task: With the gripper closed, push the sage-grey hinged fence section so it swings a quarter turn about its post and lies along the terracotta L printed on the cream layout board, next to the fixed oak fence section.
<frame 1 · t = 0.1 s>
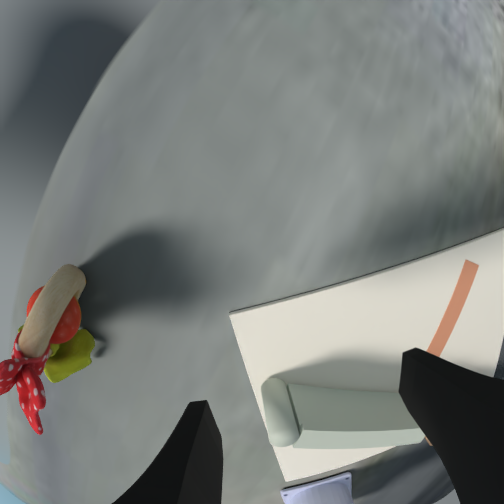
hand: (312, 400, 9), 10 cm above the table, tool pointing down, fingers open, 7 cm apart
bird rattle: (72, 303, 19), on the table
layout board: (408, 373, 22), on the table
fence gate: (349, 416, 18), point 3 cm above the table, hinge at 0.0°
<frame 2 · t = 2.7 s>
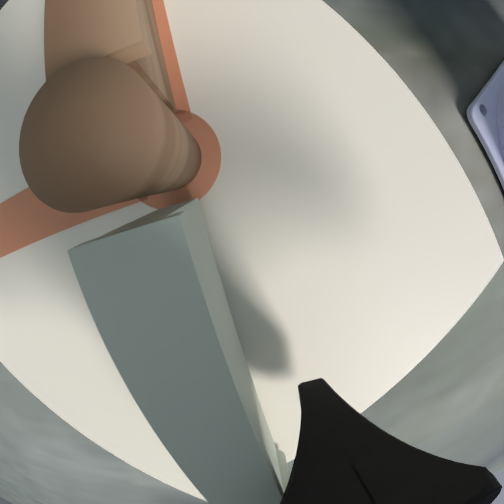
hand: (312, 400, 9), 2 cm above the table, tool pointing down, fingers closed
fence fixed: (172, 159, 9), resting on layout board
layout board: (122, 215, 9), on the table
fence gate: (236, 426, 8), point 3 cm above the table, hinge at 0.8°, touching gripper
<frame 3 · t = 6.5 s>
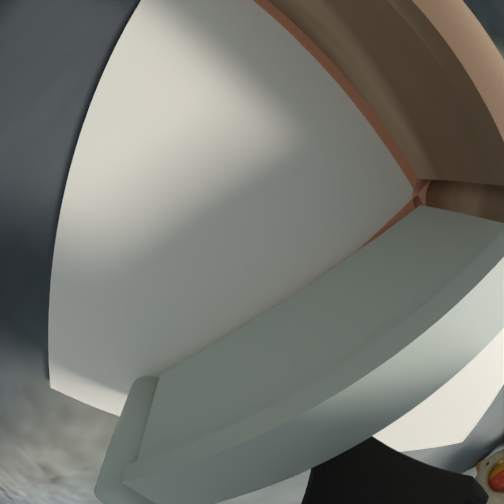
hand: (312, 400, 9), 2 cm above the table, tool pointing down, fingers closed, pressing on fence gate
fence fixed: (437, 198, 10), resting on layout board
bird rattle: (494, 446, 17), on the table
layout board: (417, 257, 11), on the table
fence gate: (293, 367, 7), point 3 cm above the table, hinge at 97.7°, touching gripper
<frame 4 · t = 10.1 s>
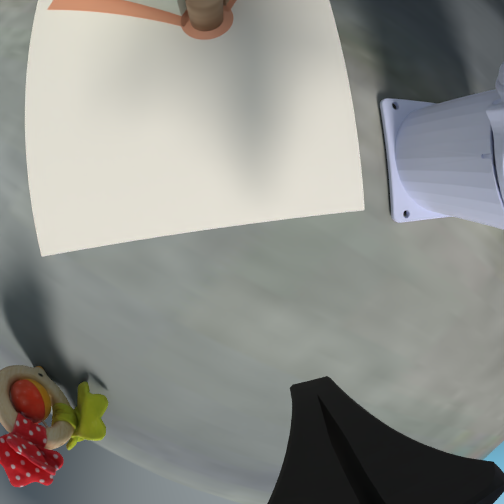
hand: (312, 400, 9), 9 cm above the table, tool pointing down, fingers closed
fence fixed: (207, 22, 14), resting on layout board
bird rattle: (64, 385, 20), on the table
layout board: (167, 29, 14), on the table
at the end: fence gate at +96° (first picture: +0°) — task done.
